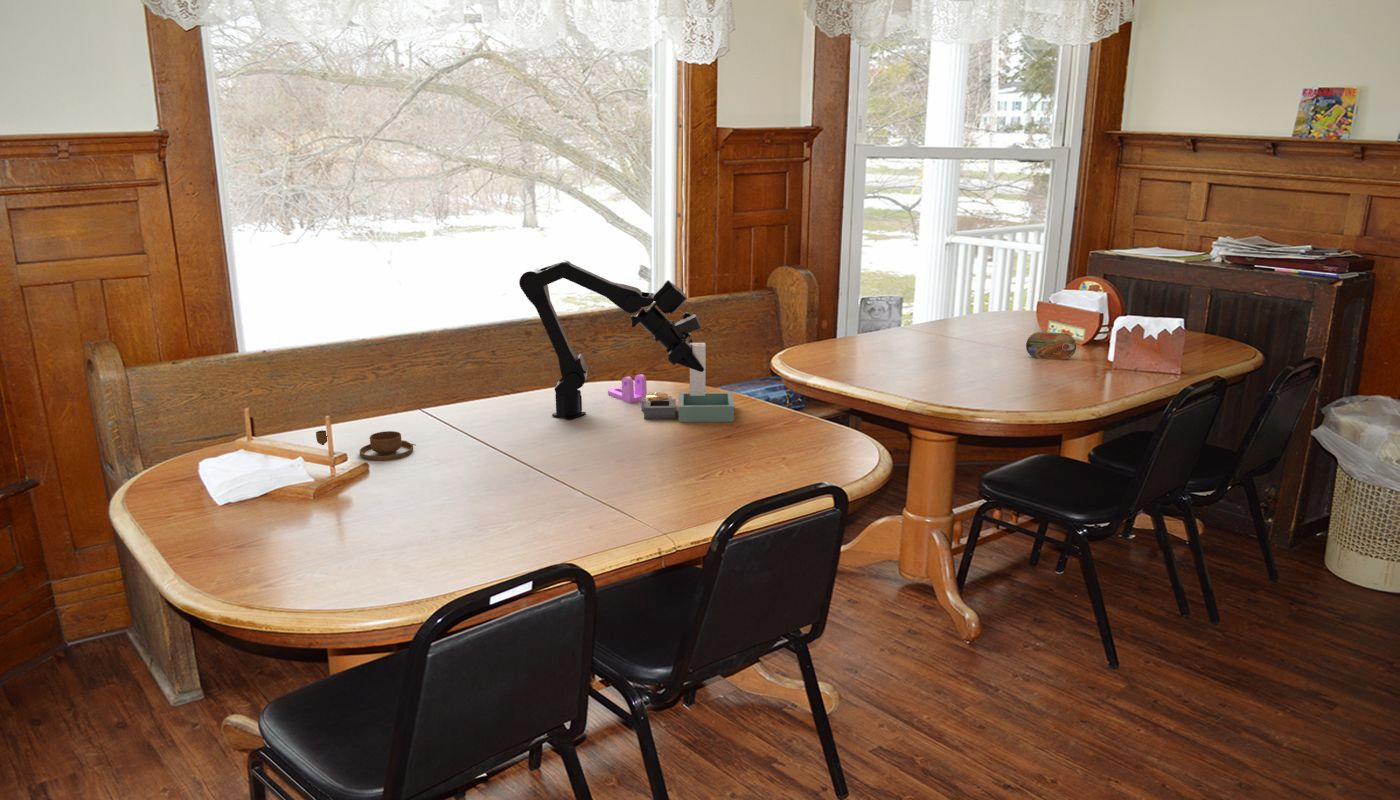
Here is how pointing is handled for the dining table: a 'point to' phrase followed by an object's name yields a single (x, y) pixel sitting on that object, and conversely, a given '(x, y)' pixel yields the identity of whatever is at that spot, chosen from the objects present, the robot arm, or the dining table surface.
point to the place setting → (379, 445)
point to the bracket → (630, 389)
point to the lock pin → (695, 376)
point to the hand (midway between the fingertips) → (703, 368)
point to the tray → (706, 407)
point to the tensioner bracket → (658, 406)
